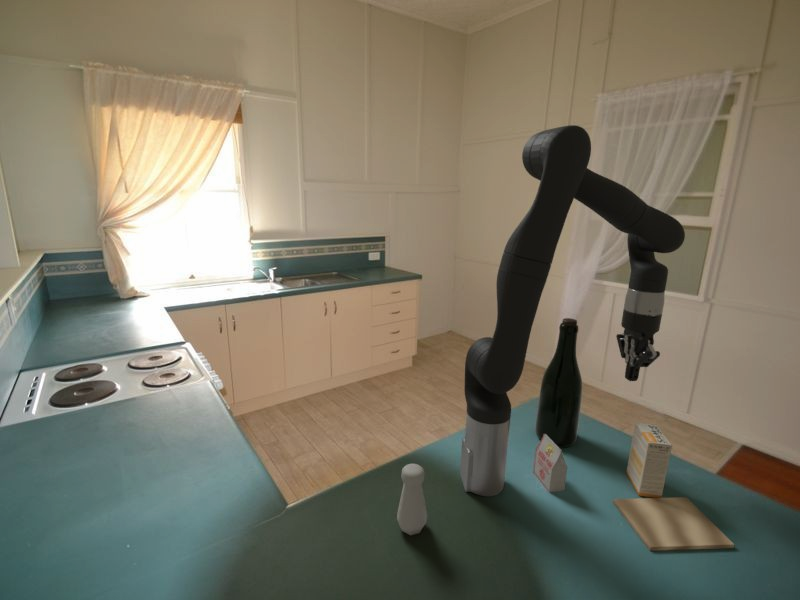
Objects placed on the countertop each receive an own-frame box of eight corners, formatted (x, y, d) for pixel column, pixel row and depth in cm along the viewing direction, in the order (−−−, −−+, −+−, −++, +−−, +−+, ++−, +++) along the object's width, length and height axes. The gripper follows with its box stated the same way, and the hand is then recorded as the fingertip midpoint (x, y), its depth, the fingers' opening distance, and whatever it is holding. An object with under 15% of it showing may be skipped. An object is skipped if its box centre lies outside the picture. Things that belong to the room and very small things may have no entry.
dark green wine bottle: (564, 453, 101) (581, 328, 93) (527, 435, 108) (539, 318, 100) (583, 438, 108) (600, 320, 100) (546, 421, 115) (559, 311, 107)
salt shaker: (430, 520, 79) (432, 462, 76) (422, 542, 74) (424, 482, 71) (402, 512, 81) (403, 456, 78) (392, 533, 76) (393, 474, 73)
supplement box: (662, 499, 86) (674, 445, 83) (638, 496, 87) (648, 442, 84) (647, 474, 94) (657, 424, 91) (625, 471, 95) (634, 421, 91)
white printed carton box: (547, 470, 95) (552, 432, 92) (564, 490, 88) (569, 450, 86) (533, 472, 94) (537, 434, 91) (548, 492, 88) (554, 452, 85)
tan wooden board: (649, 550, 73) (650, 547, 73) (612, 502, 85) (613, 499, 85) (733, 547, 74) (734, 544, 74) (685, 500, 86) (686, 497, 86)
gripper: (610, 301, 97) (600, 368, 101) (645, 317, 84) (632, 393, 88) (640, 301, 97) (629, 368, 101) (680, 317, 84) (665, 392, 89)
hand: (630, 379), depth 95 cm, fingers closed
